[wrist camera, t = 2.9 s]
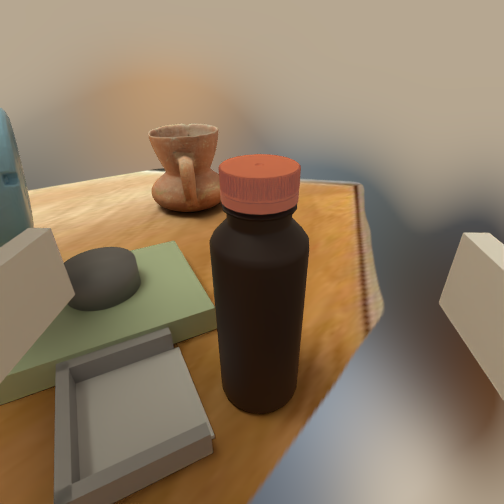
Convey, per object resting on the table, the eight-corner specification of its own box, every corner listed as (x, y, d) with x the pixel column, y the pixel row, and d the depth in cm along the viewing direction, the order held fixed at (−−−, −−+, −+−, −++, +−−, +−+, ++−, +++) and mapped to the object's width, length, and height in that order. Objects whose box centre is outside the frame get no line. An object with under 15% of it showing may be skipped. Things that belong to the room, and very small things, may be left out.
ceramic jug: (159, 190, 72) (148, 121, 64) (226, 187, 73) (222, 119, 66) (147, 228, 56) (130, 143, 49) (231, 222, 58) (227, 140, 50)
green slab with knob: (-29, 574, 19) (-86, 533, 16) (18, 298, 40) (-2, 257, 37) (271, 423, 27) (272, 375, 23) (177, 258, 48) (171, 221, 45)
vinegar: (249, 342, 34) (245, 145, 24) (309, 372, 31) (335, 159, 20) (206, 390, 29) (177, 170, 19) (271, 431, 26) (280, 193, 16)
